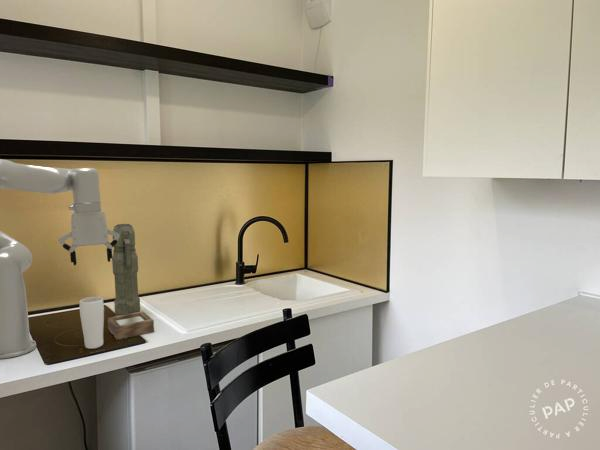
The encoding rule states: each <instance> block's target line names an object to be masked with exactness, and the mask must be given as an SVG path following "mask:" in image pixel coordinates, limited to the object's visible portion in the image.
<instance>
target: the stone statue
mask: <svg viewBox="0 0 600 450" xmlns="http://www.w3.org/2000/svg"><path fill="white" fill-rule="evenodd" d="M112 231H114V232H116V233H119V234H120V237H119V239H118V241H117V243H116V244H115V246H114V247H113V249H112V258H111V263H112V266H111V267H112V273H113V276H114V291H115V298H114V301H113V303H114V313H115V316H120V315H125V314H130V313H136V312H141V299H140V296H139V288H138V273H139V261H138V259H139V258H138V255H137V254H138V253H137V251H136V247H135V246H136V235H135V234H136V233H135V229H134V227H133V225H132V224H130V223H120V224H119V223H118V224H116V225H115V226H114V227H113V230H112ZM114 238H115V237H114V236H112V241H113V240H114Z"/></svg>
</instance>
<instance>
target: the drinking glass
mask: <svg viewBox="0 0 600 450" xmlns="http://www.w3.org/2000/svg"><path fill="white" fill-rule="evenodd" d="M79 316H80V322H81V328H82V333H83V335H82V336H83V340H84V341H83V343H84V347H85V349H89V350H90V349H91V350H92V349H98V348H101V347H102V346H103V345H104V323H105V321H104V320H105V304H104V298H103V297H101V296H89V297H84V298H82V299H80V300H79Z"/></svg>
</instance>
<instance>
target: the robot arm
mask: <svg viewBox="0 0 600 450" xmlns="http://www.w3.org/2000/svg"><path fill="white" fill-rule="evenodd" d="M0 189H1V190H13V191H14V190H15V191H20V192H21V191H24V192H29V193H31V192H32V193H42V194H49V195H50V194H60V193H66V192H72V199H73V203H72V204H70V205H68V210H69V211H70V210H71V211H73V213H71V217H70V232H68V233H66V234H65V235H62V236H61V237H59V238H58V242H59V243H60V245H61V247H63V249H64V250H66V251H67V252H69V257H70V263H73V266H76V265H77V256H76V255H77V253H76V251H75V250H76V249H77V247H87V246H89V247H90V246H97V245H98V246H99V245H104V246H106V247H107V248H106V257H107V259H106V260H107V262H108V263H109V262H111V260H112V257H113V249H114V246H115V244H116V243H117V241H118V239H119V237H120V234H119V233H116V232H114V231H113V230H110V229H108V225H107V223H108V222H107V217H106V215H105V212H104V211H102V206H101V205H102V204H101V191H100V180H99V172H98V170H97V169H96V168H94V167H77V168H64V167H63V168H62V167H48V166H41V165H31V164H23V163H17V162H14V161H11V160H10V159H2V158H0ZM109 236H112V237H113V236H114V237H115V238H114V240H113V239H112V241H111V242H109ZM70 238H71V243H72V244H71V246H70V245H69V244H68V243H67V241H66V240H68V239H70ZM32 263H33V255H32V252H31V251H30V249H29V248H28V247H27V246H26V245H24V243H23V244H22V243H21V242H19V241H18V240H16V239H14V238H13V237H12V236H9V235H8V234H7V233H4V232H3V231H1V230H0V359H10V358H15V357H19V356H22V355H26V354H29V352H31V351H33V350H36V349H35V348H36V347H37V342H36V341H35V339H34V340H33V339H31V335H30V325H29V313H28V312H29V311H28V299H27V289H26V284H25V280H24V277H23V273H24V272H25V271H27V270H28V269H29V267H31V266H32Z"/></svg>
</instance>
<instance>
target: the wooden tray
mask: <svg viewBox="0 0 600 450" xmlns="http://www.w3.org/2000/svg"><path fill="white" fill-rule="evenodd" d="M107 329H108V331H109V332H110V334H113V335H114V336H113V335H112V336H113V338H115V339H116V341H119V340H123V338H124V339H128V337H129V338H132V337H138V336H142V335H148V334H151V333H155V322H154V319H153V318H152V317H150V315H148V314H147V313H146V312H145V311H143V310H140V312H136V313H130V314H125V315H120V316H116V315H115V316H109V317H107ZM118 339H119V340H118Z"/></svg>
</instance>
